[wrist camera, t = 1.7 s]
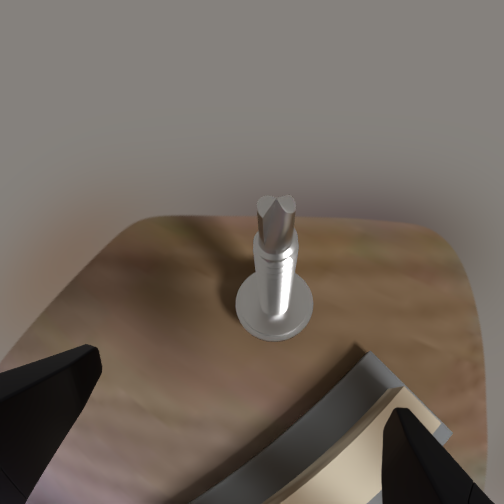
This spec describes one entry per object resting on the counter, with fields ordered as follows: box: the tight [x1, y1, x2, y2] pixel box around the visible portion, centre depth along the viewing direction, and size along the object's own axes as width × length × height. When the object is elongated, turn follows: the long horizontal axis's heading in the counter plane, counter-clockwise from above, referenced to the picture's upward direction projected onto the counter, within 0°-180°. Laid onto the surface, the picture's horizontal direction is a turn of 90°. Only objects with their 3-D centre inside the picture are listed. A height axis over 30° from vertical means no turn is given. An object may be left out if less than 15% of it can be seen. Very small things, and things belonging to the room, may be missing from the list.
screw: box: [236, 195, 313, 342], centre depth 16 cm, size 13×5×5 cm
